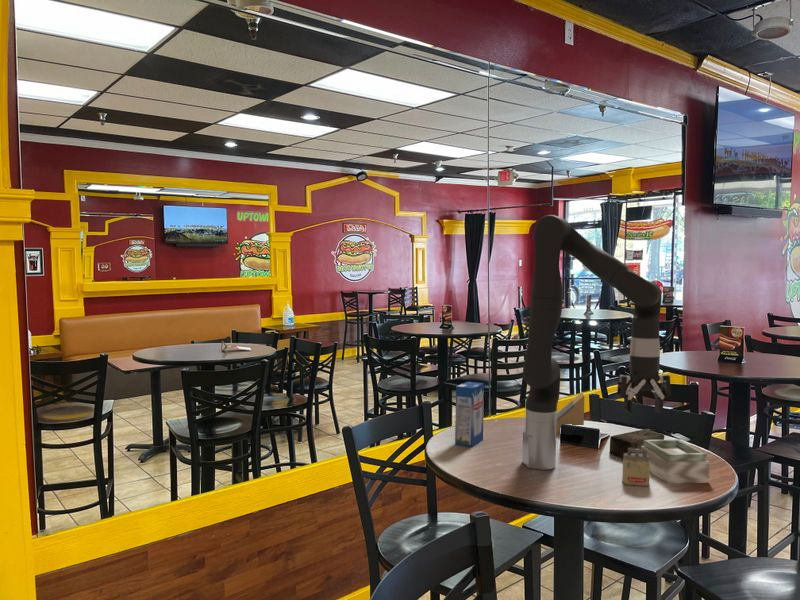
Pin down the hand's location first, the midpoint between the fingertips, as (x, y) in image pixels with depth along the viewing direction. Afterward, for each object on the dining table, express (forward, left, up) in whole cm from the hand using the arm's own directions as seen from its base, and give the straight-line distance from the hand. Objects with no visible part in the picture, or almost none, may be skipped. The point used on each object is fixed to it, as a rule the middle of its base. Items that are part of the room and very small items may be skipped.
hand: (643, 412), depth 154 cm
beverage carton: (+13, +27, -21) cm, 37 cm away
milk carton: (-40, +41, -21) cm, 61 cm away
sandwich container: (-4, +53, -21) cm, 56 cm away
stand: (+14, +8, -20) cm, 26 cm away
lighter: (-1, +1, -21) cm, 21 cm away
